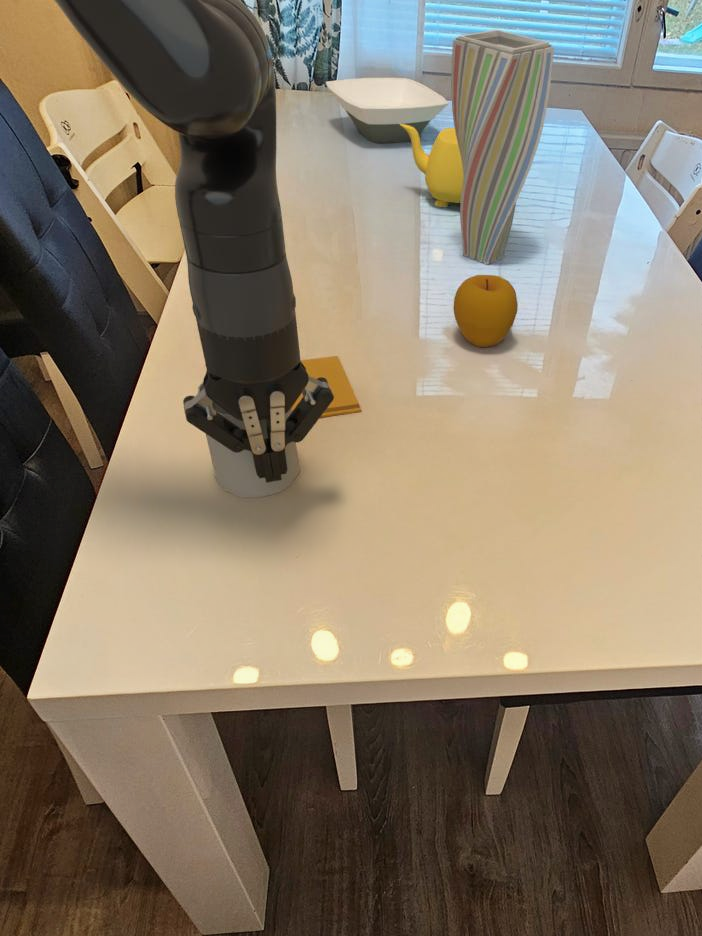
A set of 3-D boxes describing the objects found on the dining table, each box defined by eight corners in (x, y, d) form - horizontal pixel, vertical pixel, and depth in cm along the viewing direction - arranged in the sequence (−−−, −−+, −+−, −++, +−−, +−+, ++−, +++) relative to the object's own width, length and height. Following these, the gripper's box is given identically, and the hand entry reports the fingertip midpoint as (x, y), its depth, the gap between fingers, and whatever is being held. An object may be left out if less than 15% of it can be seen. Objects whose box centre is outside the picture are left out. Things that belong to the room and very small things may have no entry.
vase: (426, 254, 114) (433, 34, 93) (475, 231, 122) (492, 24, 102) (494, 282, 109) (518, 56, 88) (540, 256, 117) (572, 44, 97)
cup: (205, 494, 70) (185, 412, 63) (226, 443, 76) (210, 363, 69) (291, 499, 71) (280, 418, 64) (306, 448, 76) (297, 369, 70)
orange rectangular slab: (218, 433, 77) (217, 430, 77) (206, 374, 85) (205, 371, 85) (361, 411, 82) (361, 409, 82) (337, 357, 90) (337, 355, 90)
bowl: (409, 116, 167) (409, 75, 162) (454, 147, 154) (457, 104, 148) (320, 122, 158) (317, 79, 153) (360, 155, 145) (359, 110, 139)
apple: (484, 318, 101) (490, 258, 94) (526, 344, 96) (535, 283, 90) (439, 335, 96) (442, 273, 90) (480, 363, 92) (487, 300, 86)
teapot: (503, 219, 127) (511, 143, 118) (393, 206, 127) (393, 129, 118) (506, 192, 137) (514, 120, 128) (404, 180, 137) (405, 107, 128)
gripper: (319, 279, 59) (332, 441, 71) (151, 294, 55) (194, 464, 67) (341, 322, 55) (350, 488, 67) (158, 343, 50) (203, 516, 62)
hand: (272, 476), depth 67 cm, fingers closed
